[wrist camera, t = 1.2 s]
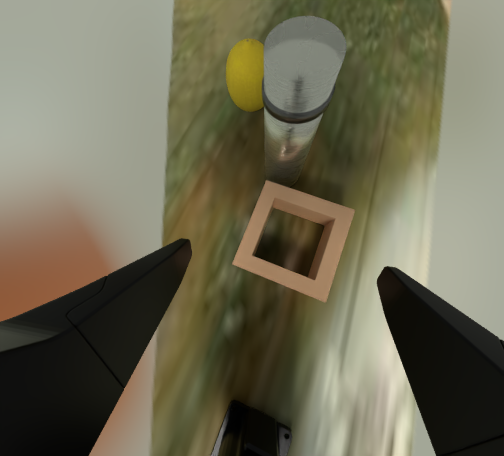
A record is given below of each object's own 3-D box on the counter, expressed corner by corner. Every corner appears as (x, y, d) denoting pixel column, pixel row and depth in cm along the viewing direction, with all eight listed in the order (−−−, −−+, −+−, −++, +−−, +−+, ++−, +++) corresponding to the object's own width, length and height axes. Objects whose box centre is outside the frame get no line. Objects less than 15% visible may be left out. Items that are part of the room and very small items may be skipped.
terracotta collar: (316, 296, 21) (325, 302, 18) (237, 264, 22) (232, 264, 19) (341, 218, 22) (355, 210, 19) (266, 192, 24) (266, 180, 20)
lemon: (276, 121, 26) (281, 57, 18) (235, 129, 26) (222, 69, 18) (269, 87, 27) (270, 12, 19) (230, 95, 27) (215, 24, 19)
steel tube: (293, 194, 23) (333, 93, 10) (258, 182, 24) (248, 71, 10) (306, 161, 24) (360, 23, 10) (271, 150, 25) (278, 6, 11)
